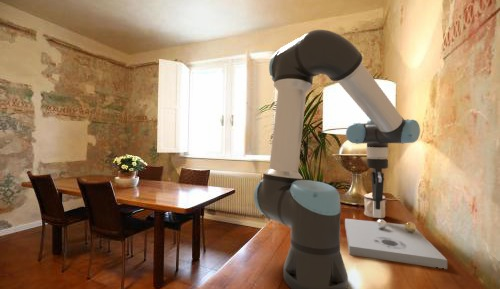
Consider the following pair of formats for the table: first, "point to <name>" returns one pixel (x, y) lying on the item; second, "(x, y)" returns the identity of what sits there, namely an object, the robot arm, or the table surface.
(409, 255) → the plate
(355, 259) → the table surface
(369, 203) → the teacup with lid
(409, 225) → the brass ball
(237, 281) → the table surface
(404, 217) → the table surface
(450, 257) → the table surface
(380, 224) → the steel ball
